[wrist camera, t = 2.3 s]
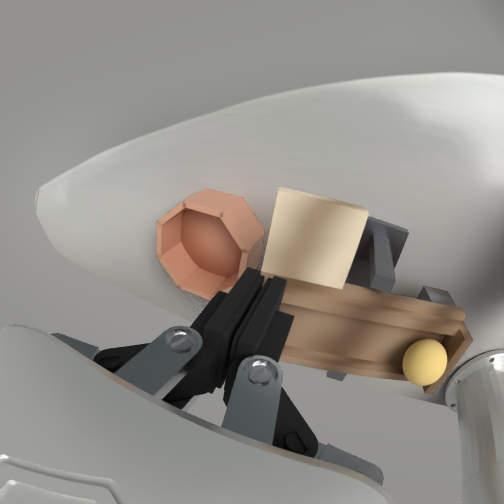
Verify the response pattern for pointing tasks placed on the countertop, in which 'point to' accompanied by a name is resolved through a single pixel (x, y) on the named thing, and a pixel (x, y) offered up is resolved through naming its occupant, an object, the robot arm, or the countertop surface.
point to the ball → (424, 362)
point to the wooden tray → (348, 296)
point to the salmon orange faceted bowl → (209, 242)
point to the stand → (375, 260)
